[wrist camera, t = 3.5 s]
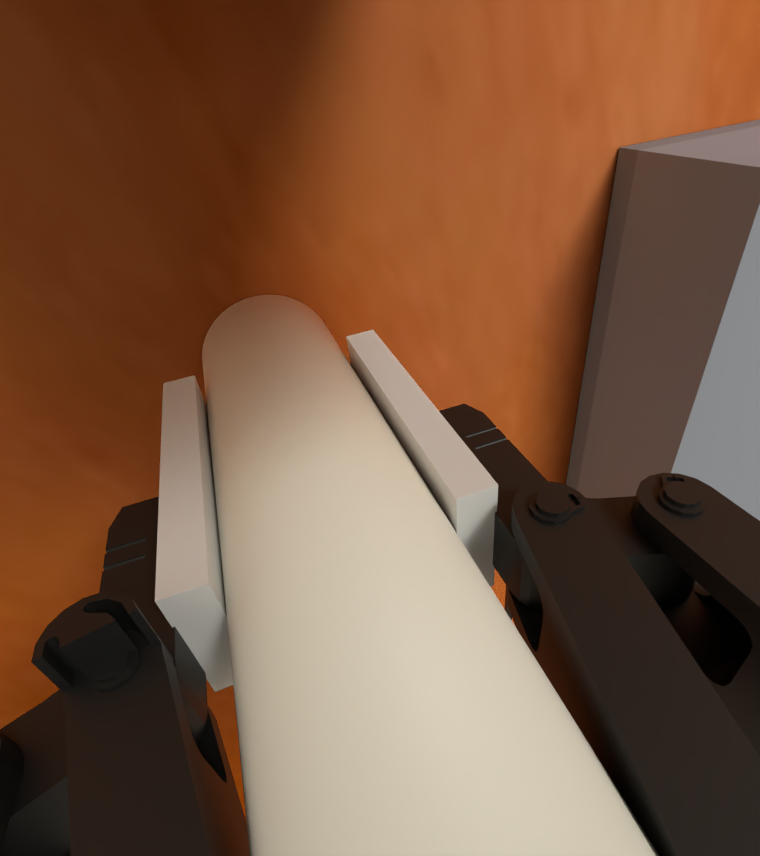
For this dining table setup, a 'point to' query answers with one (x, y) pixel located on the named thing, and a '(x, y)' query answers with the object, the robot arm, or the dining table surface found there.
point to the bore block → (677, 322)
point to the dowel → (373, 631)
